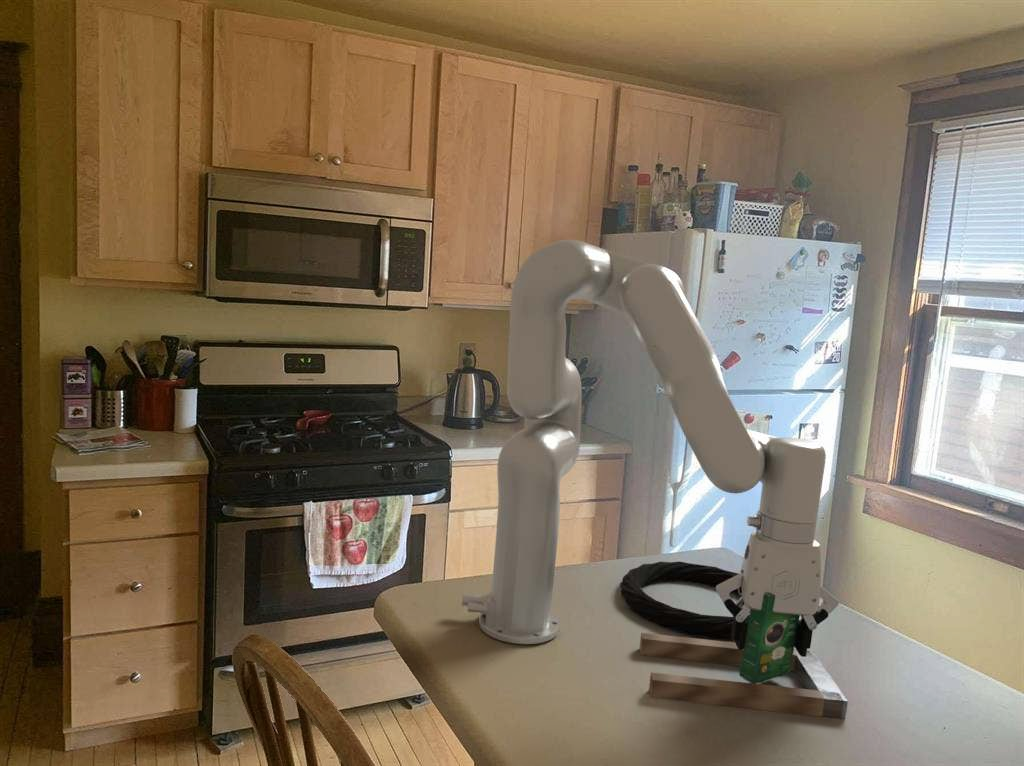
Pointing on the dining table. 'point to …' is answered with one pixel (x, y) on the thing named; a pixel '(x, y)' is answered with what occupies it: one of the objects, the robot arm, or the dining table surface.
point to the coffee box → (768, 643)
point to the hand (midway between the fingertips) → (769, 648)
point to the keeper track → (812, 700)
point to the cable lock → (673, 616)
